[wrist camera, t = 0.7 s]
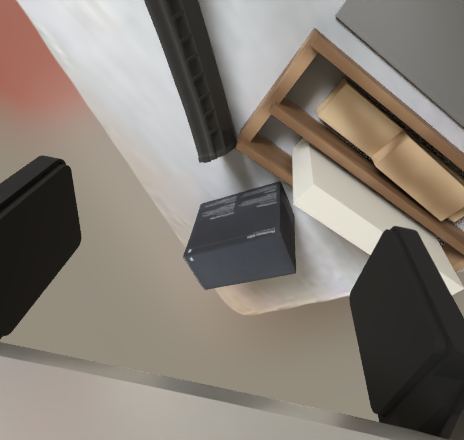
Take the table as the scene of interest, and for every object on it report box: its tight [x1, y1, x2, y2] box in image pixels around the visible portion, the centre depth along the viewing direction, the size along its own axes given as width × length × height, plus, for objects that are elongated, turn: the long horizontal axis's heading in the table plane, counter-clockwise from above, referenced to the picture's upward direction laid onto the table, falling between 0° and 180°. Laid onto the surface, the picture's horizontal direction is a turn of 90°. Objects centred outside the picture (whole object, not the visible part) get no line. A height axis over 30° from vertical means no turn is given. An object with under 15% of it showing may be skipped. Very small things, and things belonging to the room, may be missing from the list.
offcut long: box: [316, 78, 464, 222], centre depth 41 cm, size 4×24×3 cm, turn 56°
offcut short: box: [372, 129, 464, 221], centre depth 40 cm, size 4×12×2 cm, turn 54°
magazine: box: [144, 0, 238, 163], centre depth 33 cm, size 17×3×30 cm
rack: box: [236, 28, 464, 272], centre depth 41 cm, size 14×36×6 cm, turn 56°
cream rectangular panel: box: [292, 138, 464, 295], centre depth 40 cm, size 3×22×13 cm, turn 56°
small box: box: [183, 182, 296, 290], centre depth 46 cm, size 13×7×12 cm, turn 112°
